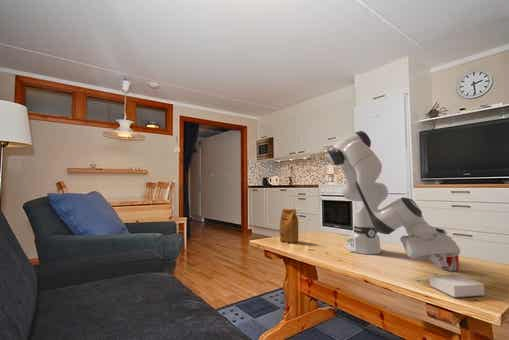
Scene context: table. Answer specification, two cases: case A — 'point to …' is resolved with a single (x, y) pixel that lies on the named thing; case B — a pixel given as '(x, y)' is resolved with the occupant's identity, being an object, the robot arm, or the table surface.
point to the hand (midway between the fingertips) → (443, 267)
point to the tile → (457, 285)
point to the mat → (450, 295)
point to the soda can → (452, 263)
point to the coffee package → (289, 226)
